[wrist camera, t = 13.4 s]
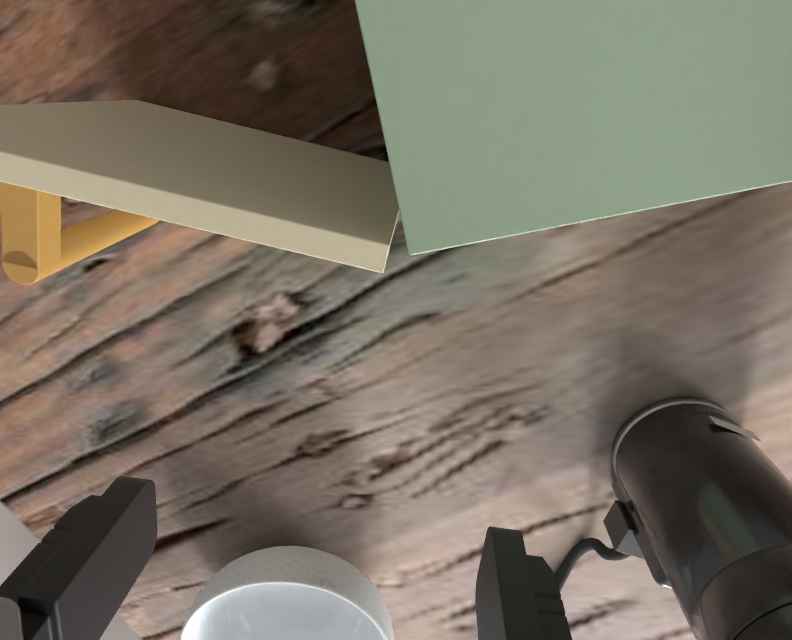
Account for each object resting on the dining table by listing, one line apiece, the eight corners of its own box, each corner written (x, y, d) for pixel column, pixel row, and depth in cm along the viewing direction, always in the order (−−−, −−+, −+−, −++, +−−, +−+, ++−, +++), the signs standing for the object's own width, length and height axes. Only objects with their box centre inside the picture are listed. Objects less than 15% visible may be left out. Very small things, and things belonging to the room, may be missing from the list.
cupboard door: (386, 267, 39) (348, 421, 21) (129, 205, 38) (-137, 310, 20) (410, 167, 36) (390, 244, 18) (135, 99, 35) (-166, 110, 18)
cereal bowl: (317, 681, 55) (302, 762, 48) (174, 590, 51) (136, 663, 45) (438, 588, 49) (439, 664, 43) (287, 479, 46) (263, 544, 39)
